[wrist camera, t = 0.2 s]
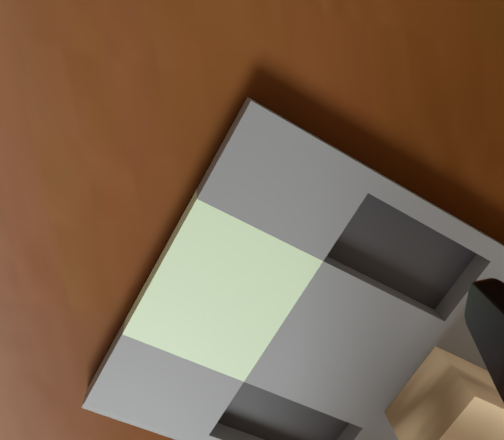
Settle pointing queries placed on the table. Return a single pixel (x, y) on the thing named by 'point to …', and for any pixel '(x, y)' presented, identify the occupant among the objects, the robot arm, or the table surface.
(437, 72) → the table surface
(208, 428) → the board
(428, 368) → the maple block
